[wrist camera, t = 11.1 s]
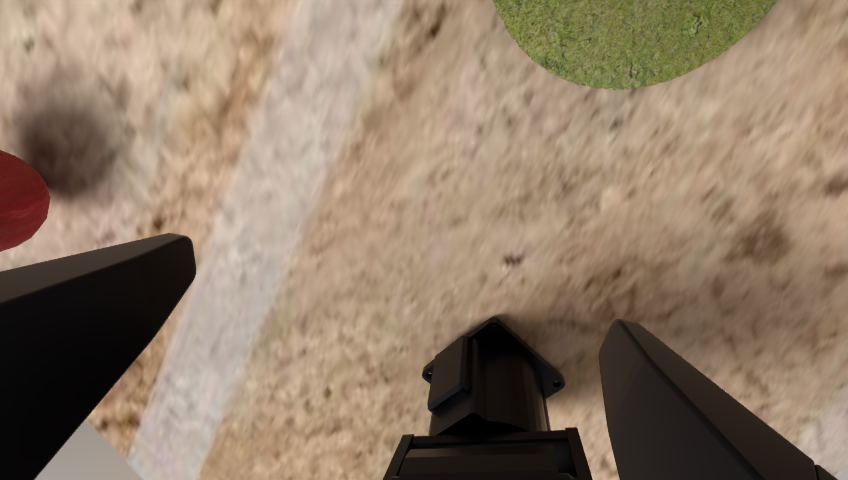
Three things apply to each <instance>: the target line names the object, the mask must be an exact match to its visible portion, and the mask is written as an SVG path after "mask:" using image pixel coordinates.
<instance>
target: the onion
mask: <svg viewBox="0 0 848 480" xmlns="http://www.w3.org/2000/svg"><path fill="white" fill-rule="evenodd" d="M49 203H50V195H49V192H48V188H47V185H46V183H45V181H44V179H43V178H42V177H41V176H40V174H39V173H38V172H37V171H36V170H35V169H34V168H32V167H31V166H30V165H29V164H27V163H26V162H25V161H23V160H21V159H20V158H18V157H16V156H14V155H11V154H9V153H6V152H4V151H1V150H0V252H1V251H4V250H7V249H10V248H13V247H16V246H18V245H20V244H21V243H23V242H25V241H26V240H28V239H30V238H31V237H32V236H33V235H34V234H35V233H36V231H37V230H38V229H39V228H40V226H41V225H42V224H43V222H44V221H45V220H46V219H47V214H48V209H49Z"/></svg>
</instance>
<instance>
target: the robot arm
mask: <svg viewBox="0 0 848 480" xmlns="http://www.w3.org/2000/svg"><path fill="white" fill-rule="evenodd" d="M195 275H196V263H195V256H194V249H193V243H192V241H191V239H190V238H189V237H187V236H184V235H178V234H173V233H167V234H163V235H158V236H154V237H149V238H145V239H141V240H136V241H132V242H128V243H123V244H119V245H115V246H110V247H106V248H102V249H97V250H93V251H89V252H84V253H80V254H76V255H71V256H67V257H62V258H58V259H54V260H49V261H45V262H41V263H36V264H32V265H28V266H23V267H19V268H15V269H10V270H6V271H2V272H0V480H35V478H36V477H37V476H38V475H39V474H40V472H41V471H42V470H43V469H44V468H45V467H46V465H47V464H48V463H49V462H50V461H51V459H52V458H53V457H54V456H55V455H56V453H57V452H58V451H59V450H60V449H61V448H62V446H63V445H64V444H65V443H66V442H67V440H68V439H69V438H70V437H71V436H72V434H73V433H74V432H75V431H76V430H77V429H78V427H79V426H80V425H81V424H82V423H83V422H84V420H85V419H86V418H87V417H88V416H89V414H90V413H91V412H92V411H93V410H94V408H95V407H96V406H97V405H98V404H99V403H100V401H101V400H102V399H103V398H104V397H105V395H106V394H107V393H108V392H109V391H110V390H111V388H112V387H113V386H114V385H115V384H116V382H117V381H118V380H119V379H120V378H121V377H122V375H123V374H124V373H125V372H126V371H127V369H128V368H129V367H130V366H131V365H132V363H133V362H134V361H135V360H136V359H137V358H138V356H139V355H140V354H141V353H142V352H143V350H144V349H145V348H146V347H147V346H148V344H149V343H150V342H151V341H152V339H153V338H154V337H155V336H156V334H157V333H158V331H159V330H160V329H161V327H162V326H163V324H164V323H165V322H166V320H167V319H168V317H169V316H170V314H171V313H172V311H173V310H174V308H175V307H176V305H177V304H178V302H179V301H180V300H181V298H182V297H183V295H184V294H185V292H186V291H187V289H188V288H189V286H190V285H191V283H192V282H193V280H194V278H195ZM491 326H497V328H491ZM599 365H600V373H601V381H602V389H603V397H604V405H605V413H606V420H607V427H608V432H609V437H610V441H611V445H612V449H613V453H614V458H615V462H616V466H617V470H618V474H619V478H620V480H837V479H836V478H835V477H834V476H832V475H831V474H830V473H829V472H827V471H826V470H825V469H824V468H822V467H821V466H820V465H815V464H814V461H813V460H812V459H811V458H809V457H808V456H807V455H806V454H804V453H803V452H802V451H800V450H799V449H798V448H797V447H795V446H794V445H793V444H791V443H790V442H789V441H788V440H786V439H785V438H784V437H783V436H781V435H780V434H779V433H777V432H776V431H775V430H774V429H772V428H771V427H770V426H769V425H767V424H766V423H765V422H763V421H762V420H761V419H760V418H758V417H757V416H756V415H754V414H753V413H752V412H751V411H749V410H748V409H747V408H746V407H744V406H743V405H742V404H740V403H739V402H738V401H737V400H735V399H734V398H733V397H732V396H730V395H729V394H728V393H726V392H725V391H724V390H723V389H721V388H720V387H719V386H718V385H716V384H715V383H714V382H712V381H711V380H710V379H709V378H707V377H706V376H705V375H703V374H702V373H701V372H700V371H698V370H697V369H696V368H695V367H693V366H692V365H691V364H689V363H688V362H687V361H686V360H684V359H683V358H682V357H681V356H679V355H678V354H677V353H675V352H674V351H673V350H672V349H670V348H669V347H668V346H667V345H665V344H664V343H663V342H661V341H660V340H659V339H658V338H656V337H655V336H654V335H653V334H651V333H650V332H649V331H647V330H646V329H645V328H644V327H642V326H641V325H640V324H638V323H636V322H632V321H627V320H622V319H617V320H615V321H614V322H613V323H612V325H611V326H610V329H609V331H608V333H607V335H606V337H605V340H604V342H603V344H602V346H601V348H600V352H599ZM429 373H432V374H429ZM422 376H423V378H424V379H425V380H426V381H427V382H428V383H430V384H431V385H430V392H429V398H428V410H429V411H430V412H432V416H431V422H430V429H429V436H414V434H409V435H403V436H402V438H401V441H400V443H399V445H398V447H397V449H396V451H395V453H394V456H393V458H392V460H391V462H390V465H389V467H388V469H387V471H386V474H385V476H384V478H383V480H593V479H592V476H591V472H590V469H589V466H588V463H587V459H586V456H585V453H584V449H583V446H582V443H581V439H580V436H579V433H578V429H577V427H574V428H565V430H555V431H551V428H550V423H549V417H548V411H547V405H546V398H547V397H549V396H551V395H552V394H554V393H556V392H558V391H559V390H561V389H562V388H563V387H564V386H565V381H564V377H563V376H562V375H561V374H560V373H559V372H558V371H557V370H555V369H554V368H553V367H552V366H551V365H550V364H549V363H548V362H546V361H545V360H544V359H543V358H542V357H541V356H540V355H539V354H537V353H536V352H535V351H534V350H533V349H532V348H531V347H530V346H528V345H527V344H526V343H525V342H524V341H523V340H522V339H521V338H519V337H518V336H517V335H516V334H515V333H514V332H513V331H512V330H510V329H509V328H508V327H507V326H506V325H505V324H504V323H503V322H501V321H500V320H499V319H497V318H490V319H488V320H487V321H486V322H484V323H483V324H482V325H480V326H479V327H477V328H476V329H475V330H473V331H472V332H471V333H469V334H468V335H465V336H461V337H460V338H459V339H457V340H456V341H455V342H453V343H452V344H451V345H449V346H448V347H447V348H445V349H444V350H443V351H441V352H440V353H439V354H437V355H436V356H435V360H433V361H432V362H430V363H429V364H428V365H426V366H425V367H424V368H423V373H422ZM554 381H559V382H554Z"/></svg>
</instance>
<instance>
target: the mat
mask: <svg viewBox="0 0 848 480" xmlns="http://www.w3.org/2000/svg"><path fill="white" fill-rule="evenodd" d="M493 1H494V4H495V7H496V9H497V11H498V13H499V15H500V16H501V18H502V19H503V20H504V23H505V26H506V28H507V30H508V32H509V33H510V35H511V37H512V38H513V39H515V40H516V42H517V44H518V45H519V47H520V48H521V49H522V50H523V51H524V52H525V53H526V54H527V55H528V56H529V57H531V59H532V60H534V61H535V62H537V63H538V64H539V65H540V66H542V67H544V68H545V69H546V70H547V71H549V72H550V73H555V75H557V76H559V77H560V78H562V79H565V80H567V81H572V82H574V83H576V84H582V85H585V86H589V87H596V88H604V89H610V88H612V89H614V90H615V89H623V90H624V89H625V88H626V89H630V88H639V87H643V86H651V85H656V84H657V83H661V82H665V81H668V80H671V79H673V78H676V77H678V76H682V75H684V74H686V73H688V72H690V71H692V70H694V69H696V68H699V67H700V66H702V65H703V64H705V63H707V62H709V61H711V60H713V59H714V58H716V57H717V56H718V55H720V54H721V53H723V52H724V51H726V50H727V49H728V48H730V47H731V46H732V45H734V44H735V43H736V42H737V41H738V40H739V39H741V38H742V37H743V36H744V35H746V34H747V33H748V32H749V31H750V30H751V29H752V28H753V27H754V26H755V25H757V24H758V22H759V20H761V19H762V18H763V17H764V16H765V14H766V13H767V12H768V11H769V10H770V9H771V6H773V5H774V4H775V3H776V2H777V0H493Z"/></svg>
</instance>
